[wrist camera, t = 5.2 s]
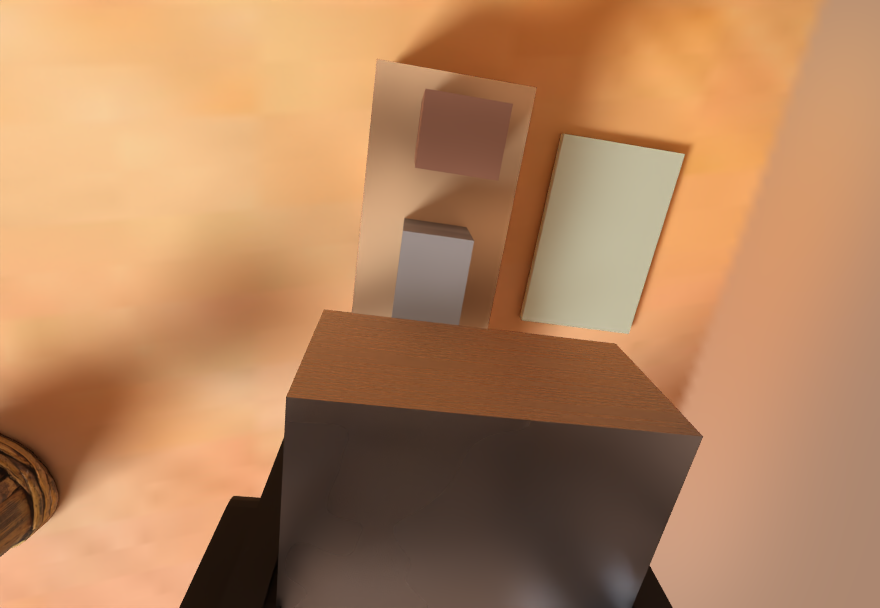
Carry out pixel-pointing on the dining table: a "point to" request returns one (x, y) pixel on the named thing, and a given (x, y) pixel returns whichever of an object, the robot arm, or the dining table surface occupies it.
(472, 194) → the body
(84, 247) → the dining table surface
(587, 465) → the lever cap
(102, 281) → the dining table surface
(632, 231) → the felt mat
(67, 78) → the dining table surface
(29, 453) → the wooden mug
